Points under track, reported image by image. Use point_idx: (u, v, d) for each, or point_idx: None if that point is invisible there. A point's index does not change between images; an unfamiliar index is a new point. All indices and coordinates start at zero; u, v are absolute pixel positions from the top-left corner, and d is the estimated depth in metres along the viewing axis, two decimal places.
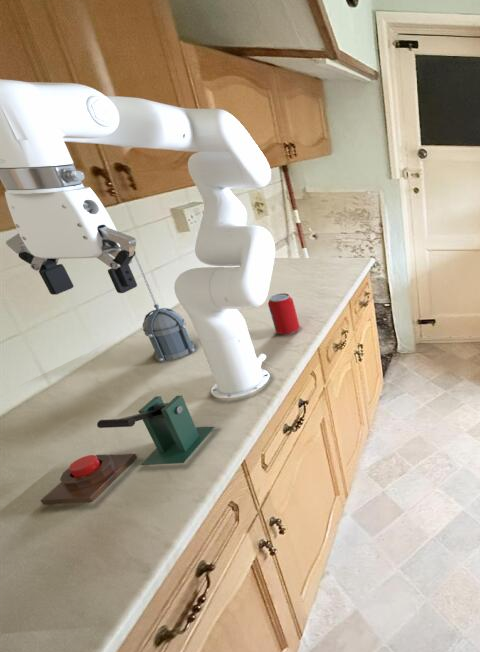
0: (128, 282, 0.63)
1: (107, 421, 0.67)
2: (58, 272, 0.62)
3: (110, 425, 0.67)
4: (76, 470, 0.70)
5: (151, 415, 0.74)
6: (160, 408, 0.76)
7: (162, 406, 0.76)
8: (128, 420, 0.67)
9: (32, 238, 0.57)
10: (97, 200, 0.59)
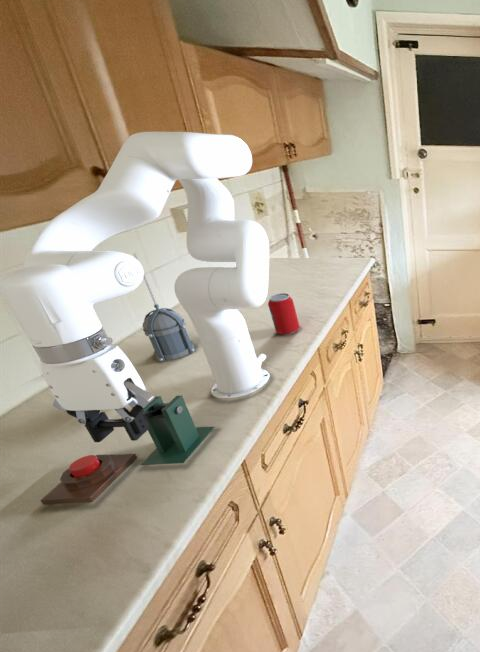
0: (141, 430, 0.68)
1: (107, 421, 0.67)
2: None
3: (110, 425, 0.67)
4: (76, 470, 0.70)
5: (151, 415, 0.74)
6: (160, 408, 0.76)
7: (162, 406, 0.76)
8: None
9: (64, 396, 0.62)
10: (123, 356, 0.64)
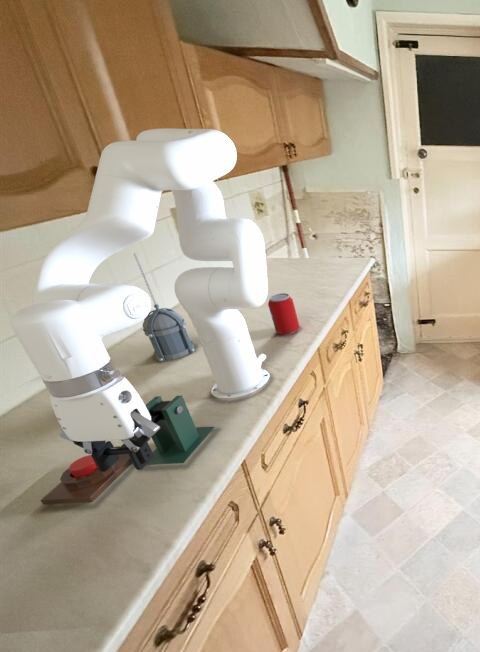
0: (146, 459, 0.68)
1: (113, 450, 0.68)
2: None
3: (118, 454, 0.68)
4: (76, 470, 0.70)
5: None
6: (159, 412, 0.76)
7: None
8: None
9: (72, 428, 0.63)
10: (130, 387, 0.65)
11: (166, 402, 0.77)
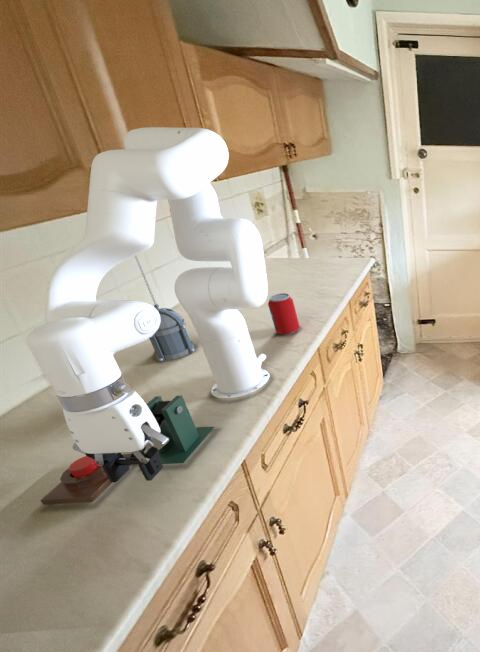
0: (156, 470, 0.70)
1: (123, 462, 0.69)
2: None
3: (129, 464, 0.70)
4: (76, 470, 0.70)
5: None
6: (160, 415, 0.76)
7: (161, 414, 0.76)
8: None
9: (84, 441, 0.65)
10: (141, 401, 0.67)
11: (164, 403, 0.77)
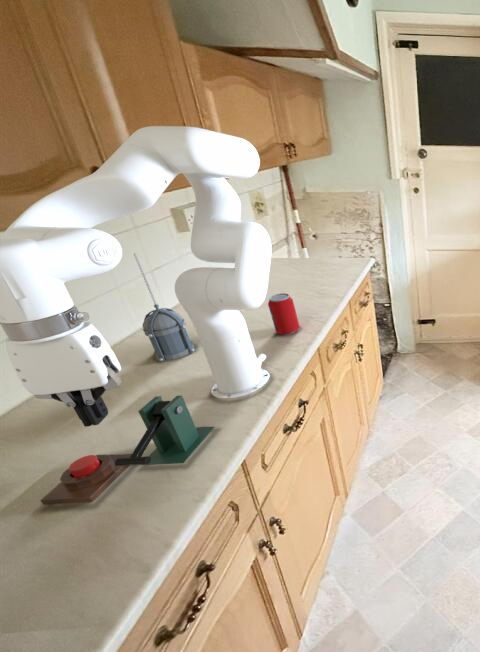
0: (102, 413, 0.66)
1: (123, 462, 0.69)
2: None
3: None
4: (76, 470, 0.70)
5: (157, 427, 0.75)
6: (160, 415, 0.76)
7: (161, 414, 0.76)
8: (143, 461, 0.70)
9: (34, 379, 0.59)
10: (98, 333, 0.63)
11: (164, 403, 0.77)
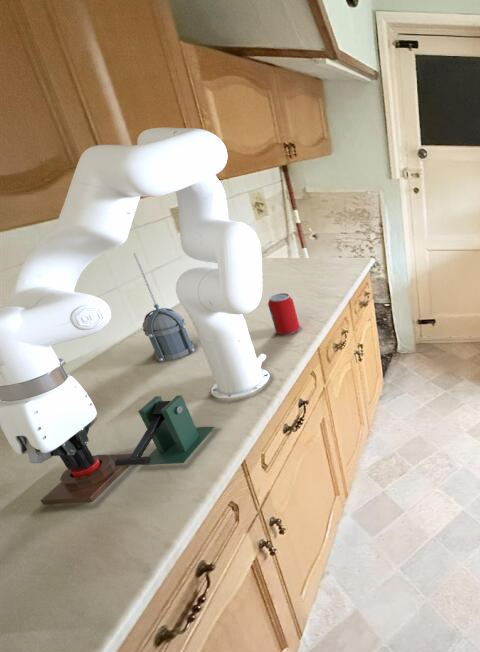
0: None
1: (123, 462, 0.69)
2: None
3: None
4: (78, 472, 0.70)
5: (157, 427, 0.75)
6: (160, 415, 0.76)
7: (161, 414, 0.76)
8: (143, 461, 0.70)
9: (52, 431, 0.64)
10: None
11: (164, 403, 0.77)
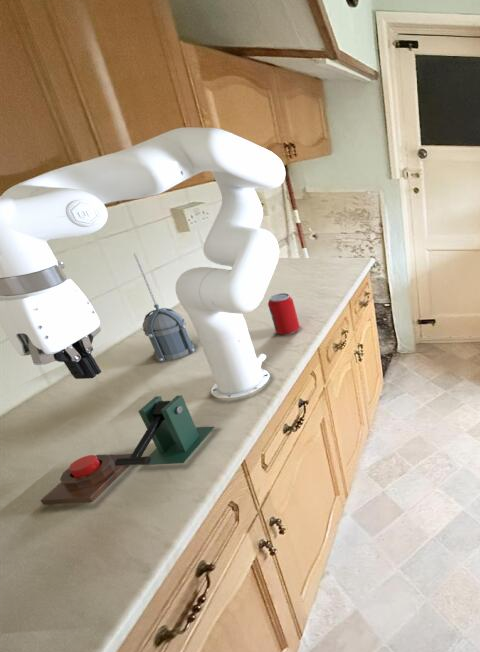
0: None
1: (123, 462, 0.69)
2: None
3: None
4: (76, 470, 0.70)
5: (157, 427, 0.75)
6: (160, 415, 0.76)
7: (161, 414, 0.76)
8: (143, 461, 0.70)
9: (54, 333, 0.62)
10: None
11: (164, 403, 0.77)
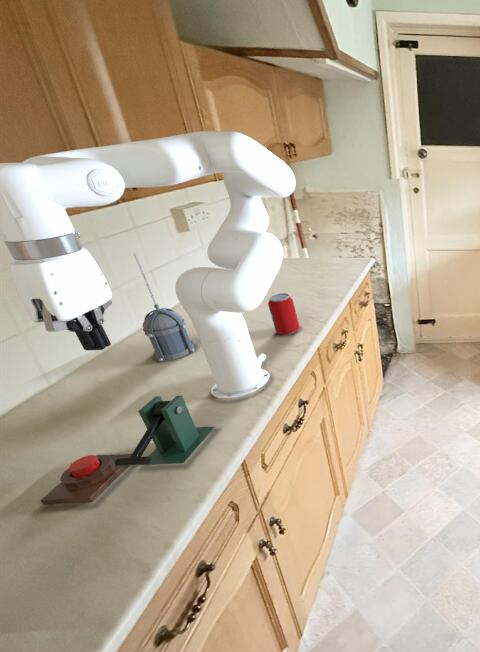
0: None
1: (123, 462, 0.69)
2: None
3: None
4: (76, 470, 0.70)
5: (157, 427, 0.75)
6: (160, 415, 0.76)
7: (161, 414, 0.76)
8: (143, 461, 0.70)
9: (68, 300, 0.63)
10: None
11: (164, 403, 0.77)
